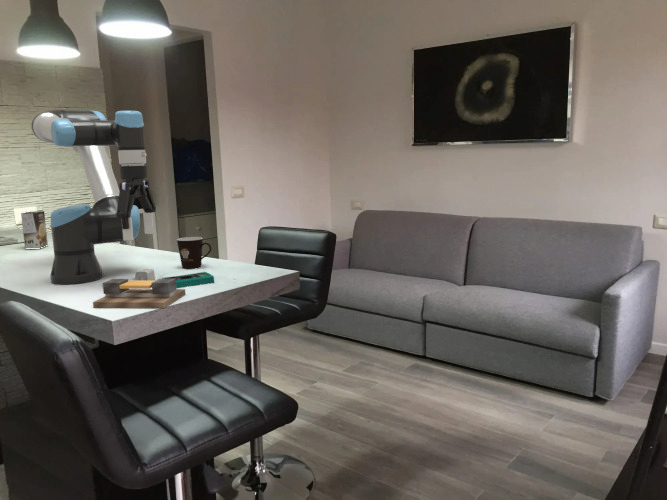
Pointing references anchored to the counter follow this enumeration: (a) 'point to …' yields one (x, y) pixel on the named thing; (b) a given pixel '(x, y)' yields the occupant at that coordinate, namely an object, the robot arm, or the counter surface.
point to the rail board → (139, 295)
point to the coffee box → (34, 229)
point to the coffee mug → (191, 251)
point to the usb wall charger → (145, 274)
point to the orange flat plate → (137, 284)
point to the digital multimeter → (192, 279)
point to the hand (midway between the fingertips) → (139, 237)
